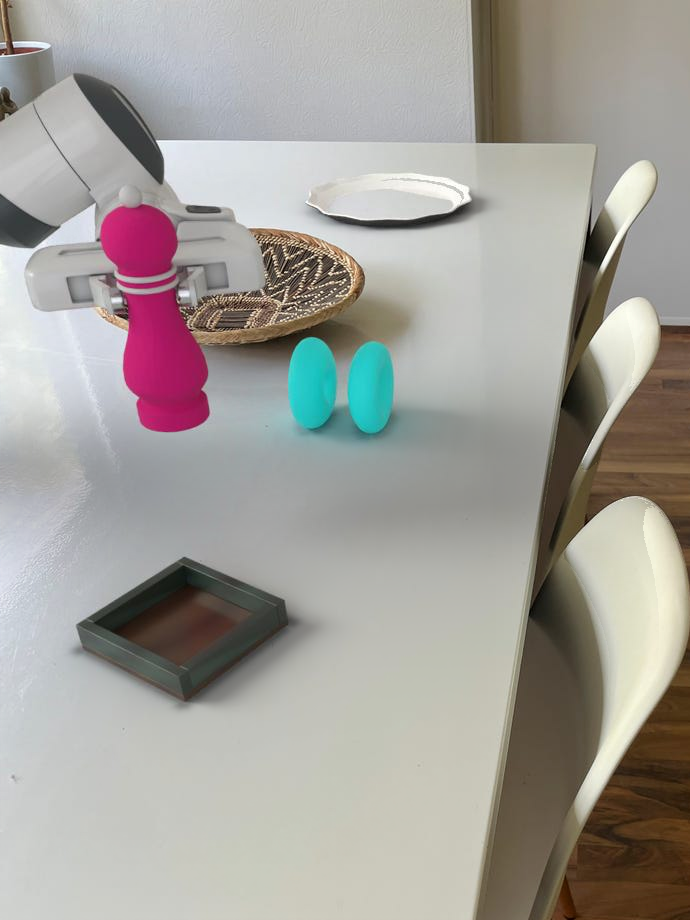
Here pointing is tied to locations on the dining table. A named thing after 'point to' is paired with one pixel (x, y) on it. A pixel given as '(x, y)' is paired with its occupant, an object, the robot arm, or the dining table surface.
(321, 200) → the plate
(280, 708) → the dining table surface
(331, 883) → the dining table surface
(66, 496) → the dining table surface
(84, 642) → the square tray
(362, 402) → the donuts
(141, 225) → the pepper mill
